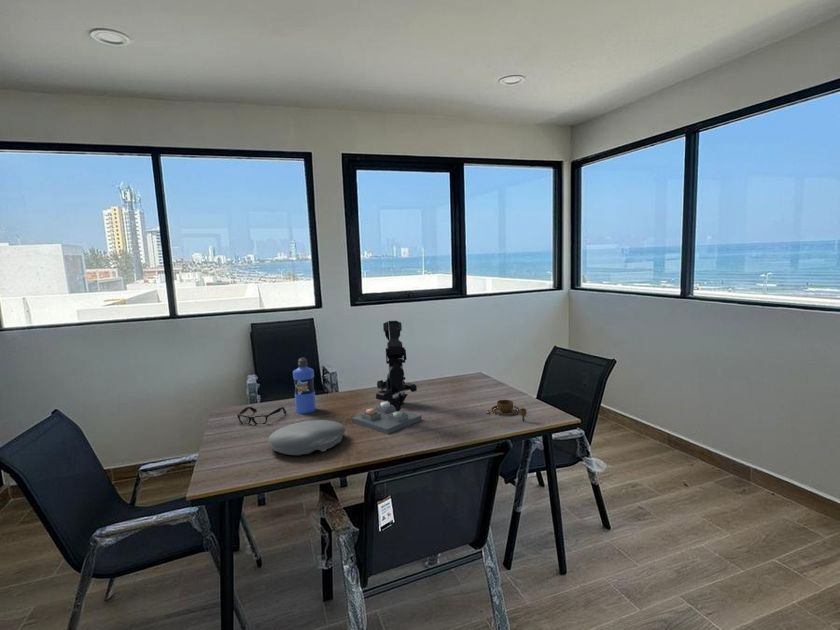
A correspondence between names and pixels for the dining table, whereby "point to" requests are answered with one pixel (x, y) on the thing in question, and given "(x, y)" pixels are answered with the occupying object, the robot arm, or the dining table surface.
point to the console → (386, 419)
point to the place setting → (508, 408)
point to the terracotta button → (371, 411)
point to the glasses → (257, 416)
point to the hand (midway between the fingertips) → (397, 411)
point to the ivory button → (385, 405)
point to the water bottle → (304, 388)
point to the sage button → (397, 414)
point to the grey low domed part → (307, 437)
